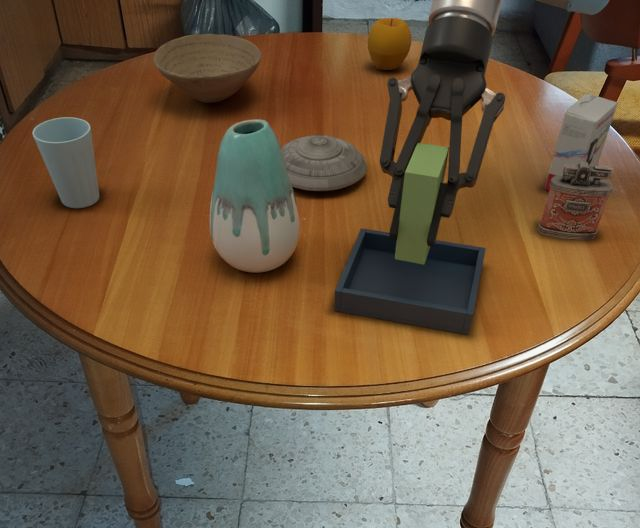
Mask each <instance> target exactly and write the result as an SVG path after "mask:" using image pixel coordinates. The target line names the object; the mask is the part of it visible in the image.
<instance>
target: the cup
mask: <svg viewBox="0 0 640 528" xmlns="http://www.w3.org/2000/svg"><path fill="white" fill-rule="evenodd" d="M31 133H32V137H33V139H34V141H35V143H36V146H37V149H38V151H39V153H40V155H41V158H42V160H43V162H44V165H45V167H46V169H47V172H48V174H49V176H50V179H51V181H52V184H53V185H54V187H55V190H56V193H57V195H58V197H59V199H60V202H61V203H62V205H63V206H65V207H66V208H71V209H84V208H87V207H90V206H93V205H94V204H96V203H97V202H99V200H100V191H99V190H100V188H99V181H98V174H97V167H96V158H95V152H94V144H93V135H92V127H91V125H90V123H89V121H87V120H84V119H82V118H79V117H71V116H70V117H69V116H66V117H63V116H62V117H57V118H51V119H48V120H45V121H43V122H41V123H39V124H38V125H36V126H35V127H34V128H33V130H32V132H31Z"/></svg>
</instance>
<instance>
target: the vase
mask: <svg viewBox="0 0 640 528" xmlns="http://www.w3.org/2000/svg"><path fill="white" fill-rule="evenodd" d="M219 144H220V145H219V148H218V153H217V159H216V169H215V176H214V181H213V182H214V183H213V187H212V191H211V196H210V197H211V199H210V206H209V233H210V238H211V241H212V243H213V246H214V248H215V250H216V252H217V254H218V255H219V256H220V258H222V260H224V262H226V263H227V264H228V265H229V266H231V267H232V268H234V269H236V270H239V271H242V272H247V273H255V274H256V273H258V274H259V273H266V272H269V271H273V270H275V269H277V268H280V267H282V266H283V265H284V264H285V263H286V262H287V261H289V259H290V258H291V257H292V255H293V254H294V253H295V251H296V249H297V246H298V243H299V240H300V235H301V219H300V212H299V206H298V203H297V198H296V195H295V192H294V187H292V185H291V183H290V180H289V177H288V174H287V170H286V166H285V162H284V158H283V154H282V151H281V148H282V147H281V145H280V142H279V139H278V137H277V135H276V132H275V131H274V129H273V128H272V126H271V125H270V123H269V122H268V121H266V120H264V119H260V118H257V119H246V120H241V121H239V122H236V123H234V124H232V125H231V126H230V127H228V128H227V129H226V131H225V132H224V135H223V136H222V138H221V141H220V143H219Z"/></svg>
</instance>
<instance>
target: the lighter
mask: <svg viewBox="0 0 640 528" xmlns="http://www.w3.org/2000/svg"><path fill="white" fill-rule="evenodd" d="M613 173H614V168H613V167H612V166H606V165H595V166H589V164H588V162H584V161H583V162H580V163H579V164H565V167H564V170H563V176H554V177H553V178H552V179H551V183H550V191H548V195H547V198H546V201H545V205H544V209H543V212H542V214H541V215H542V216H541V219H540V220H539V222H538V224H537V228H536V229H537V231H538V232H539V234H542V235H544V236H549V237H554V238H559V239H566V240H567V239H568V240H593V239H595V238H596V237H597V233H598V227H599V224H600V221H601V219H602V216H603V213H604V210H605V207H606V205H607V202H608V200H609V198H610V197H609V196H610V195H611V194H612V192H613V189H614V184H613V183H612V182H611V181H609V180H610V179H612V177H613ZM570 175H571V176H570ZM590 177H593V178H590Z"/></svg>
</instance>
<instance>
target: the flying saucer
mask: <svg viewBox="0 0 640 528" xmlns="http://www.w3.org/2000/svg"><path fill="white" fill-rule="evenodd" d="M281 151H282V154H283V158H284V162H285V166H286V170H287V174H288V177H289V180H290V183H291V185H292V188H295V189H297V190H298V189H299V190H303V191H309V192H329V191H335V190H340V189H344V188H347V187H349V186H352V185H354V184H356V183H358V182H359V181H360V180H361V179H363V177H364V176H365V174H366V173H367V171H368V163H367V160H366V158H365V157H364V155H363V154H362V153H361V151H360V150H359V149H358V148H357V147H356V146H354V145H353V143H352V144H351V143H350V142H349V141H346V140H344V139H342V138H338V137H335V136H331V135H326V134H312V135H305V136H301V137H298V138H295V139H293V140H290V141H289V142H287V143H285V144H284V145H283V146H282V147H281Z"/></svg>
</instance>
